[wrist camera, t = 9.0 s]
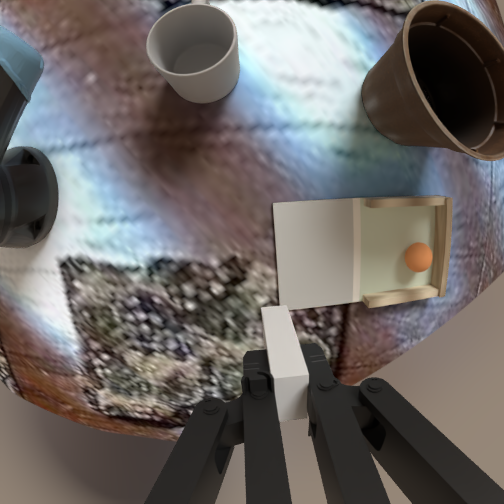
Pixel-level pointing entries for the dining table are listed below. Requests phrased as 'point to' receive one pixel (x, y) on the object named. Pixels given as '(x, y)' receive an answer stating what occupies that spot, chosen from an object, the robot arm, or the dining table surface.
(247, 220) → the dining table surface
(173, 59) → the mug
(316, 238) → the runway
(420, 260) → the ball
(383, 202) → the fence
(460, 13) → the plant pot
